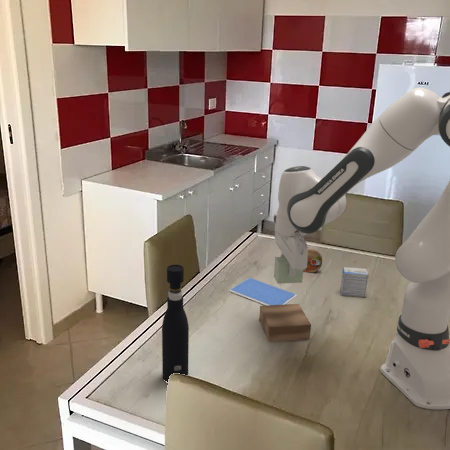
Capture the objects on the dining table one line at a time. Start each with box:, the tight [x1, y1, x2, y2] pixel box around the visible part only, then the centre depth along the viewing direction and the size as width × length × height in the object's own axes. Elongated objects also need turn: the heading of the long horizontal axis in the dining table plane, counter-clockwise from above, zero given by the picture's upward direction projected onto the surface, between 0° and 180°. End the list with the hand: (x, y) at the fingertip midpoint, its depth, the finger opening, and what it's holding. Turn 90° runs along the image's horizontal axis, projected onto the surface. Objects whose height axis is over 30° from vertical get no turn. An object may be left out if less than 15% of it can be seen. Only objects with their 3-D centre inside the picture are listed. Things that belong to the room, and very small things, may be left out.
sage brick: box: [273, 256, 304, 285], centre depth 145 cm, size 4×7×6 cm, turn 99°
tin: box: [280, 248, 323, 273], centre depth 189 cm, size 15×3×8 cm, turn 73°
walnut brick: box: [258, 303, 312, 342], centre depth 151 cm, size 12×12×5 cm
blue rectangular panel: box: [229, 277, 297, 306], centre depth 172 cm, size 19×13×1 cm, turn 53°
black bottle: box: [161, 264, 190, 382], centre depth 124 cm, size 6×6×30 cm
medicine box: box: [340, 266, 369, 298], centre depth 172 cm, size 8×4×9 cm, turn 84°
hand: (288, 271), depth 145 cm, fingers closed on sage brick, 4 cm apart
